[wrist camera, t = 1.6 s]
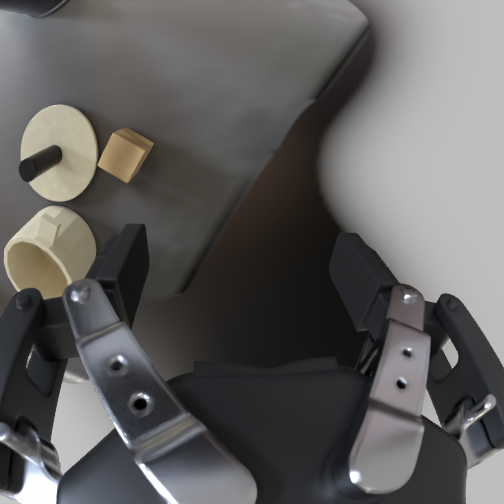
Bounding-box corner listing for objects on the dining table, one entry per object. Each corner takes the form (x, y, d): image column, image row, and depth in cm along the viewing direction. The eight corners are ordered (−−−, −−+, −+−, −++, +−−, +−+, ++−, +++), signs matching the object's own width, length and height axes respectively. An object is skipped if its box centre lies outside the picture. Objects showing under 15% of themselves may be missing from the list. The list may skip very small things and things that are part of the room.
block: (110, 156, 27) (96, 165, 24) (126, 126, 26) (113, 132, 22) (137, 172, 29) (127, 183, 25) (154, 143, 27) (145, 151, 24)
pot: (27, 262, 33) (3, 296, 26) (47, 174, 27) (10, 200, 20) (81, 295, 38) (64, 334, 31) (113, 214, 31) (88, 251, 24)
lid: (16, 173, 25) (-14, 194, 20) (44, 90, 21) (9, 96, 15) (79, 213, 30) (55, 242, 24) (117, 129, 26) (90, 141, 20)
